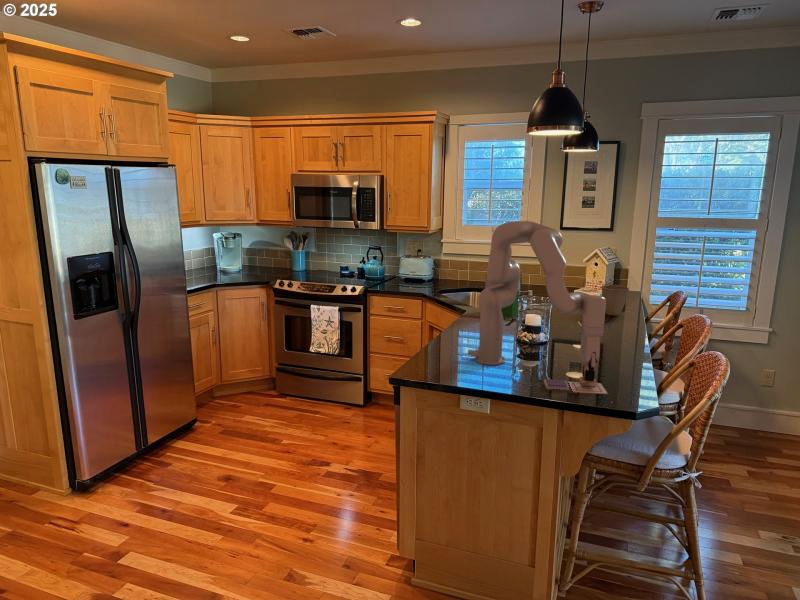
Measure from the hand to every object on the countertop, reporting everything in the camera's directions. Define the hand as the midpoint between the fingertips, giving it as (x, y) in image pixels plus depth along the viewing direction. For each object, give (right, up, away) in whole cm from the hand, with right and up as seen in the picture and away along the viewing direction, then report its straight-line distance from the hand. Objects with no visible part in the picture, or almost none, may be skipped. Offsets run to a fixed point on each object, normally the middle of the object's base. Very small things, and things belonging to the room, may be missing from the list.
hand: (588, 378), depth 191 cm
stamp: (0, -3, +1) cm, 3 cm away
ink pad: (-11, -3, +2) cm, 12 cm away
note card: (0, -4, +1) cm, 4 cm away
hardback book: (-10, +20, +112) cm, 114 cm away
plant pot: (+56, +20, +116) cm, 131 cm away
